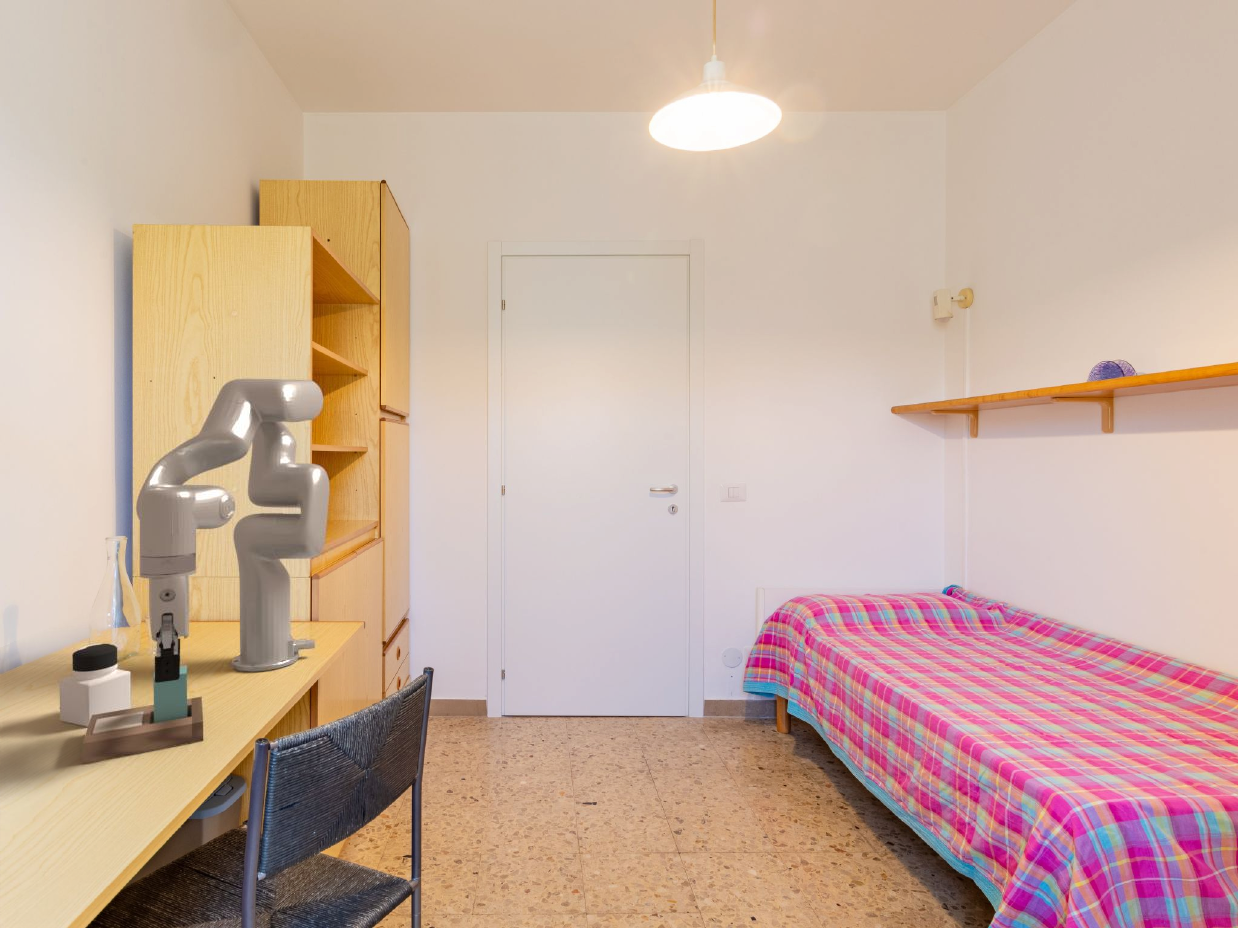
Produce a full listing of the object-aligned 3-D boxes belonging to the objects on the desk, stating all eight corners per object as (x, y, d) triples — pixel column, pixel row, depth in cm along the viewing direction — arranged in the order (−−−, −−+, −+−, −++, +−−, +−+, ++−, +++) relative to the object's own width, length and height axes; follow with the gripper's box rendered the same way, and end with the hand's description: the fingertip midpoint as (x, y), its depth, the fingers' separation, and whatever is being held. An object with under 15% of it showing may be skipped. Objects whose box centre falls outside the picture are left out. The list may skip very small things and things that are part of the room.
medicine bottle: (132, 711, 118) (131, 643, 117) (88, 727, 111) (87, 655, 110) (103, 705, 120) (102, 638, 120) (59, 721, 113) (57, 650, 113)
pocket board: (201, 713, 117) (201, 695, 117) (203, 740, 107) (203, 720, 107) (92, 733, 109) (91, 713, 109) (82, 764, 99) (82, 742, 99)
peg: (187, 724, 113) (186, 665, 112) (187, 734, 109) (186, 673, 108) (155, 730, 110) (154, 669, 110) (154, 740, 107) (153, 678, 106)
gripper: (196, 571, 103) (196, 683, 103) (195, 556, 118) (195, 654, 118) (136, 575, 99) (135, 692, 99) (142, 559, 114) (142, 661, 114)
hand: (168, 671), depth 108 cm, fingers open, 9 cm apart
